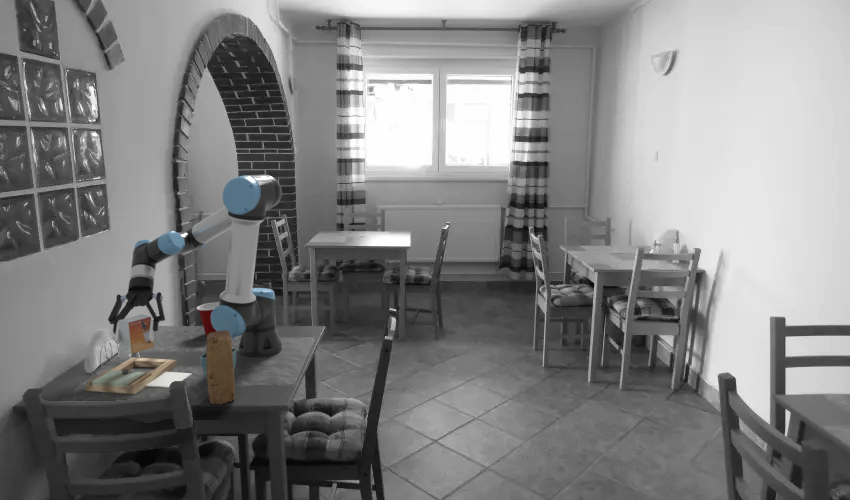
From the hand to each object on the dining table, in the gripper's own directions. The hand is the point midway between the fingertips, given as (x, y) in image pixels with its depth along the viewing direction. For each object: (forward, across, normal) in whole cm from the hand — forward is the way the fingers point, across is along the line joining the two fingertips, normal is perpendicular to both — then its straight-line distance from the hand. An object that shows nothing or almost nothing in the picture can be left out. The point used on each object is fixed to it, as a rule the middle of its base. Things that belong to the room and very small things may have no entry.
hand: (134, 340), depth 185 cm
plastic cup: (-20, -18, -37) cm, 46 cm away
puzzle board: (+9, +1, -8) cm, 12 cm away
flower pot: (+14, -26, -4) cm, 30 cm away
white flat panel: (+12, -10, -5) cm, 17 cm away
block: (+25, -28, +6) cm, 38 cm away
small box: (+1, 0, -5) cm, 5 cm away
